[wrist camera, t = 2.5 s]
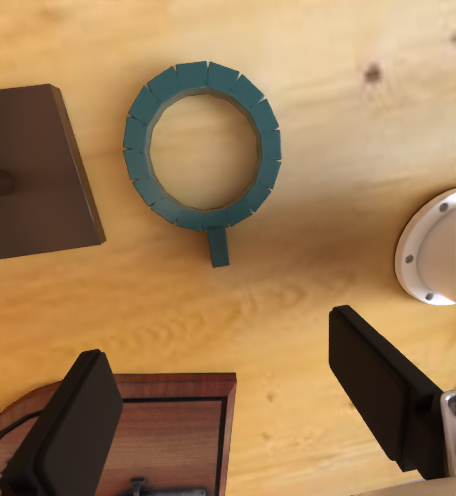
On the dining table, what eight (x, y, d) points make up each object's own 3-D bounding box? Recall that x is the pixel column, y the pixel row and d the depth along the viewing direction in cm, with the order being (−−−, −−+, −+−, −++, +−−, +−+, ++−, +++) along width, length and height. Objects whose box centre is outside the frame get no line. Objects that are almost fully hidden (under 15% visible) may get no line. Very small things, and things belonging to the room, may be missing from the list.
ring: (270, 62, 18) (276, 52, 17) (281, 251, 23) (287, 257, 22) (111, 80, 18) (103, 72, 16) (158, 270, 23) (154, 277, 21)
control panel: (221, 584, 32) (-22, 609, 29) (219, 530, 37) (11, 546, 34) (241, 416, 23) (-115, 427, 20) (235, 372, 28) (-52, 376, 25)
